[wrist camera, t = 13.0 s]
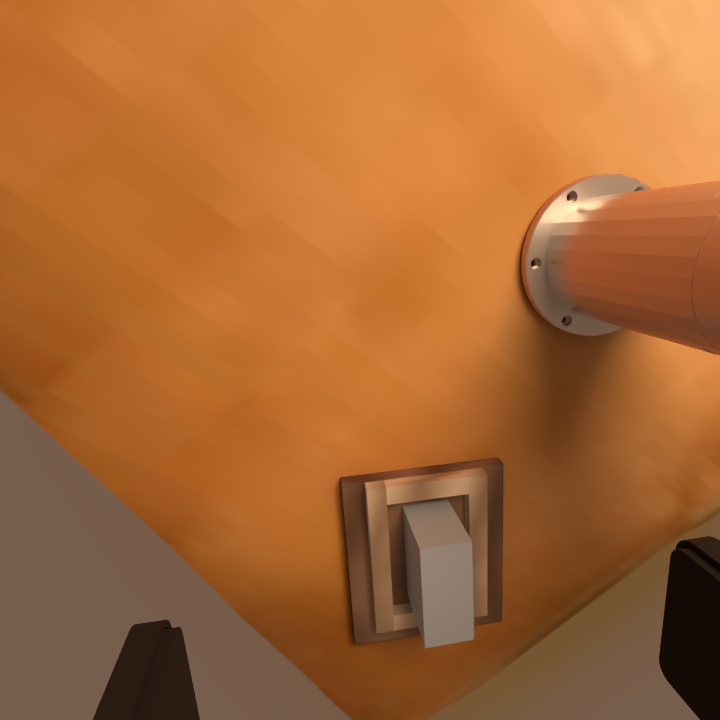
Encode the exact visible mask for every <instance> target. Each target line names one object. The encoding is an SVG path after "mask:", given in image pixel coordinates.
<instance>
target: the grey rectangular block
mask: <svg viewBox="0 0 720 720" xmlns="http://www.w3.org/2000/svg"><path fill="white" fill-rule="evenodd" d="M402 510H403V526H404V543H405V559H406V575H407V592H408V597H409V600H410V603H411V606H412V609H413V612H414V616H415V619H416V622H417V625H418V628H419V631H420V634H421V637H422V641H423V644H424V647H425V648H430V647H435V646H441V645H447V644H452V643H458V642H464V641H469V640H474V609H473V558H472V540H471V539H470V537H469V535H468V533H467V532H466V530H465V528H464V527H463V525H462V523H461V521H460V520H459V518H458V516H457V515H456V513H455V511H454V509H453V508H452V506H451V504H450V503H449V501H448V499H446V500H439V501H432V502H425V503H418V504H411V505H404V506H402Z"/></svg>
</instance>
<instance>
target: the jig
mask: <svg viewBox="0 0 720 720" xmlns="http://www.w3.org/2000/svg"><path fill="white" fill-rule="evenodd" d="M340 479H341V490H342V502H343V514H344V525H345V537H346V549H347V560H348V572H349V584H350V595H351V607H352V618H353V630H354V639H355V645H360V644H366V643H372V642H378V641H385V640H391V639H397V638H403V637H409V636H415V635H421V634H420V631H419V628H418V625H417V622H416V619H415V616H414V612H413V609H412V606H411V603H410V600H409V597H408V592H407V575H406V559H405V543H404V526H403V510H402V506H404V505H411V504H418V503H425V502H432V501H439V500H446V499H448V501H449V503H450V504H451V506H452V508H453V509H454V511H455V513H456V515H457V516H458V518H459V520H460V521H461V523H462V525H463V527H464V528H465V530H466V532H467V533H468V535H469V537H470V539H471V540H472V558H473V609H474V626H475V625H481V624H487V623H493V622H499V621H502V544H503V463H502V462H501V461H500V460H499V459H498V458H492V459H484V460H476V461H468V462H460V463H452V464H445V465H437V466H429V467H421V468H413V469H405V470H397V471H389V472H381V473H373V474H365V475H357V476H349V477H342V478H340Z"/></svg>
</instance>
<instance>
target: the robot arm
mask: <svg viewBox="0 0 720 720" xmlns="http://www.w3.org/2000/svg"><path fill="white" fill-rule="evenodd" d="M567 195H568V200H567ZM532 260H533V265H532V266H531V261H532ZM521 271H522V279H523V284H524V288H525V291H526V294H527V297H528V298H529V300H530V302H531V304H532V306H533V307H534V309H535V310H536V311H537V312H538V313H539V315H540V316H541V317H542V318H543V319H544V320H546V321H547V322H548V323H550V324H551V325H552V326H554V327H556V328H559V329H561V330H563V331H566V332H569V333H572V334H575V335H582V336H598V335H605V334H608V333H612V332H615V331H618V330H620V329H622V328H625V329H629V330H632V331H636V332H639V333H643V334H646V335H650V336H653V337H657V338H660V339H664V340H667V341H671V342H674V343H678V344H681V345H685V346H688V347H692V348H695V349H699V350H702V351H706V352H709V353H713V354H716V355H720V181H713V182H706V183H698V184H690V185H682V186H674V187H666V188H658V189H651V188H650V187H649V186H648V185H646V184H644V183H643V182H641V181H639V180H637V179H635V178H632V177H629V176H625V175H622V174H601V175H594V176H590V177H586V178H583V179H579V180H577V181H575V182H573V183H571V184H569V185H567V186H565V187H563V188H562V189H561V190H559V191H558V192H557V193H556V194H554V195H553V196H552V197H551V198H550V199H549V200H548V201H547V202H546V203H545V204H544V205H543V206H542V208H541V209H540V210H539V212H538V214H537V215H536V217H535V218H534V220H533V221H532V223H531V226H530V228H529V230H528V233H527V235H526V238H525V242H524V246H523V250H522V261H521ZM562 318H563V321H562ZM659 663H660V667H661V670H662V672H663V674H664V676H665V678H666V679H667V681H668V682H669V683H670V684H671V686H672V687H673V688H674V689H675V690H676V692H677V693H678V694H679V695H680V696H681V698H682V699H683V700H684V701H685V702H686V703H687V705H688V706H689V707H690V708H691V710H692V711H693V712H694V713H695V714H696V716H697V717H698V718H699V719H700V720H720V540H718V539H716V538H714V537H709V536H708V537H701V538H695V539H688V540H683V541H680V542H679V543H678V544H677V546H676V550H674V551H673V552H672V554H671V557H670V567H669V575H668V585H667V593H666V601H665V611H664V620H663V628H662V637H661V646H660V655H659ZM93 720H200V719H199V714H198V708H197V703H196V698H195V693H194V688H193V683H192V678H191V673H190V669H189V663H188V658H187V653H186V648H185V643H184V638H183V633H182V629H181V628H180V627H176V628H172V627H171V624H170V622H169V621H168V620H162V621H155V622H148V623H142V624H135V625H134V626H132V627H131V629H130V631H129V633H128V636H127V638H126V640H125V643H124V645H123V648H122V650H121V653H120V655H119V657H118V660H117V662H116V665H115V667H114V670H113V672H112V674H111V677H110V679H109V682H108V684H107V687H106V689H105V692H104V694H103V696H102V699H101V701H100V704H99V706H98V708H97V711H96V713H95V716H94V718H93Z"/></svg>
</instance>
